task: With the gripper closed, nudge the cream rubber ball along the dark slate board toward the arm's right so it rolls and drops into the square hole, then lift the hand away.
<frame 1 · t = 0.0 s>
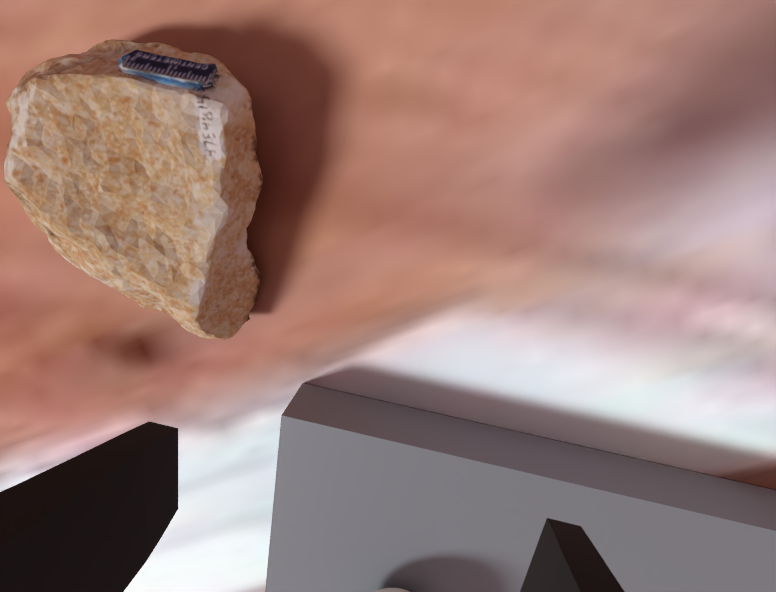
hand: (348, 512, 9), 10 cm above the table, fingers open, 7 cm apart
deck: (529, 583, 21), on the table
stone: (181, 199, 18), on the table
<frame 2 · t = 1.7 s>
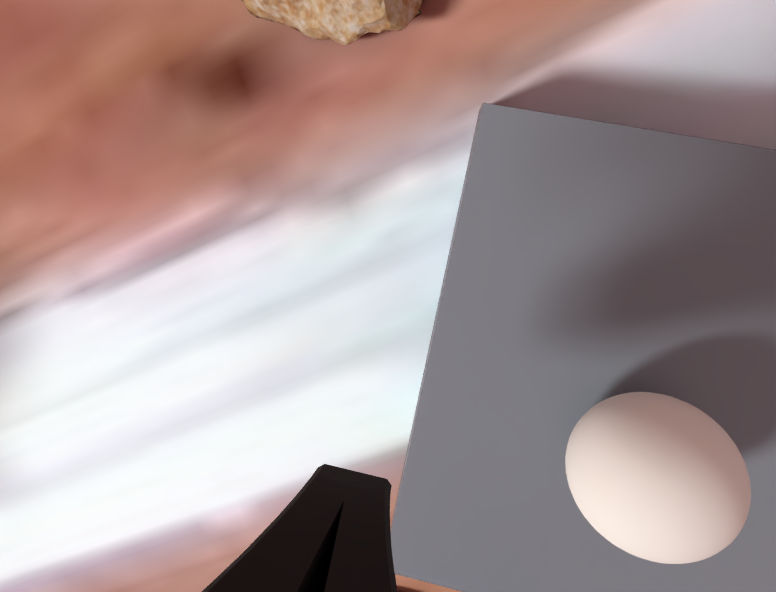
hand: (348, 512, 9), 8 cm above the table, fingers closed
ball: (649, 472, 11), point 4 cm above the table, touching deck
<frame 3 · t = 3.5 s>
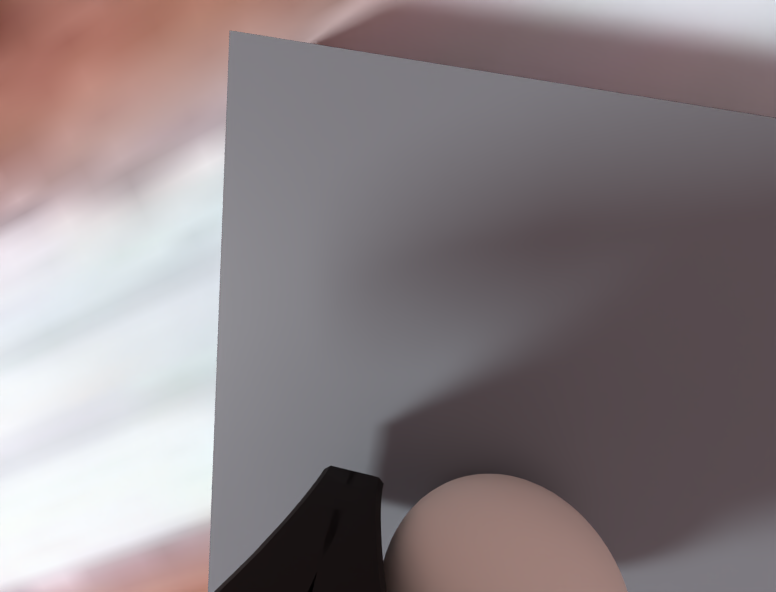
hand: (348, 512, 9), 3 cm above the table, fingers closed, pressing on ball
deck: (724, 494, 11), on the table
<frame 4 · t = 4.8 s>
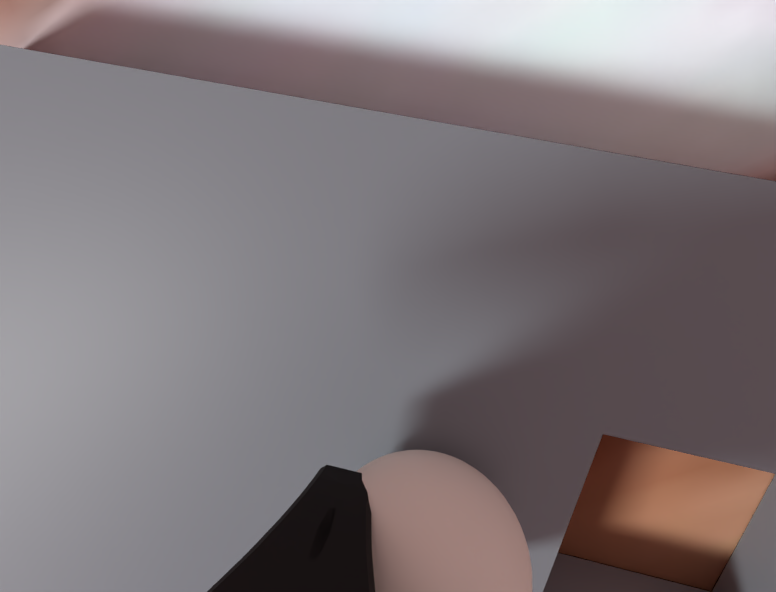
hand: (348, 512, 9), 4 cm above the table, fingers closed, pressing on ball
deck: (426, 437, 13), on the table
ball: (419, 563, 8), point 4 cm above the table, tilted 170°, touching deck, gripper
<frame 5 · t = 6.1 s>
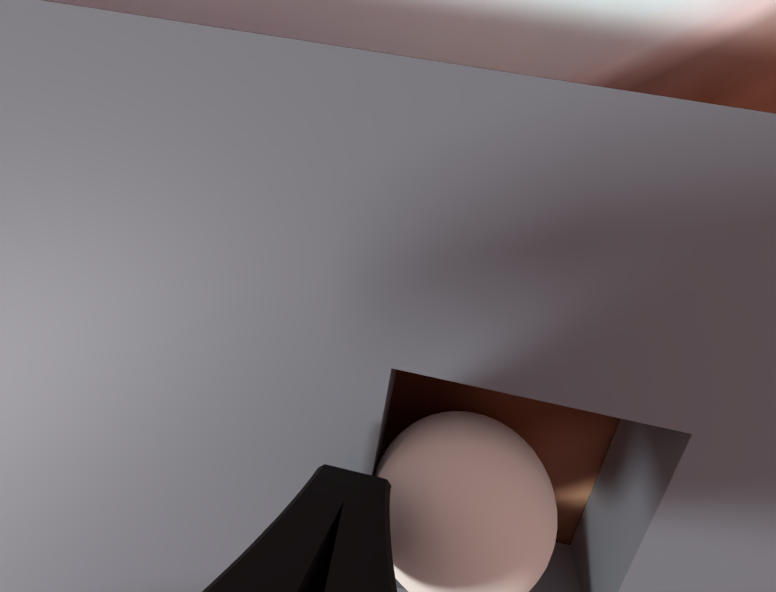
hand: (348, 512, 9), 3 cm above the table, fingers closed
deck: (270, 388, 12), on the table
ball: (460, 504, 10), point 2 cm above the table, tilted 32°
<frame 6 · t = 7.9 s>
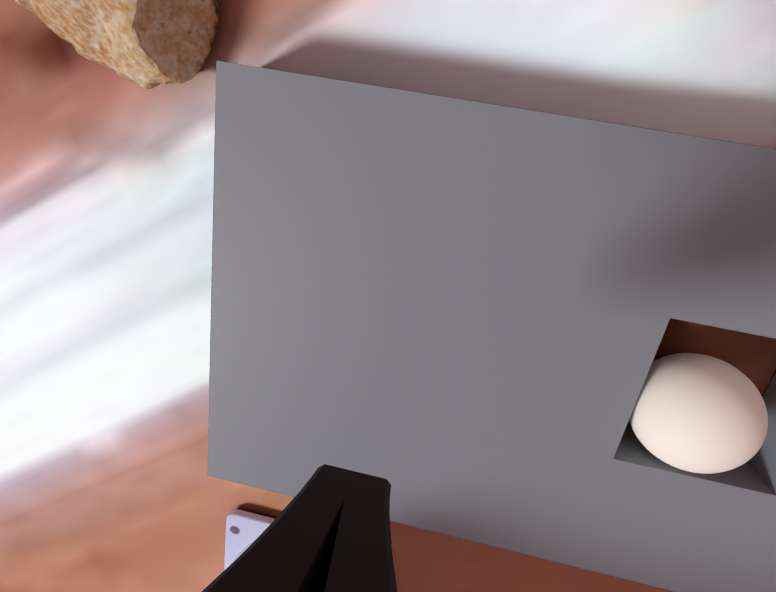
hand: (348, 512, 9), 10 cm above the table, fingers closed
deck: (531, 341, 18), on the table
ball: (692, 411, 16), point 2 cm above the table, tilted 34°
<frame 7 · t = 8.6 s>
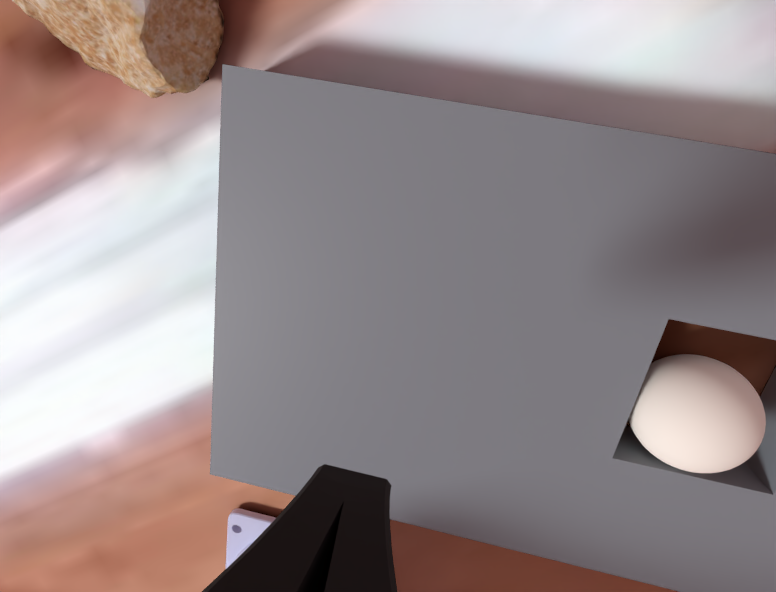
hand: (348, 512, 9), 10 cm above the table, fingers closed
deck: (531, 342, 18), on the table
ball: (691, 411, 16), point 2 cm above the table, tilted 36°
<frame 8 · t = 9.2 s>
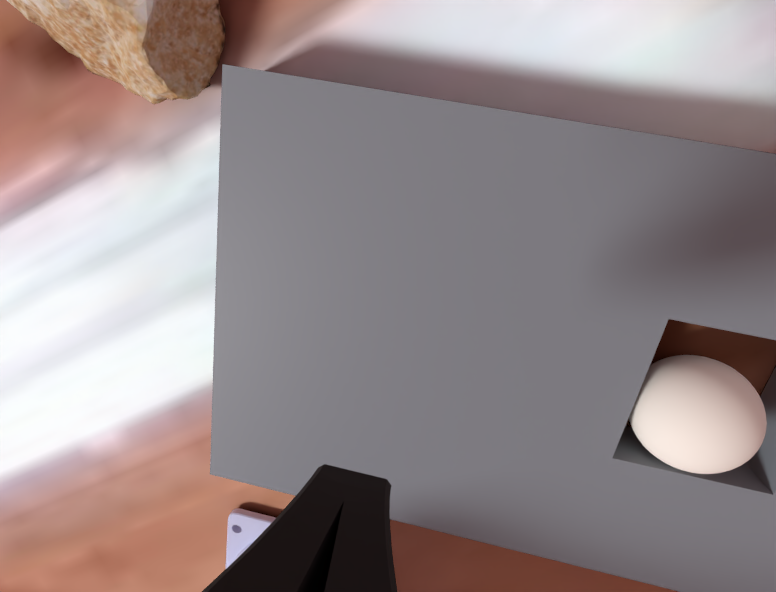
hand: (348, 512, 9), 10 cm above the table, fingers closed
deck: (531, 342, 18), on the table
ball: (692, 412, 16), point 2 cm above the table, tilted 37°
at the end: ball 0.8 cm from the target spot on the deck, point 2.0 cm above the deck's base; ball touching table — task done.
